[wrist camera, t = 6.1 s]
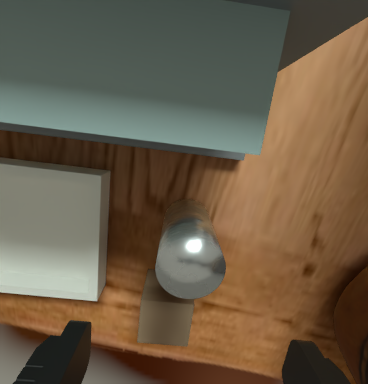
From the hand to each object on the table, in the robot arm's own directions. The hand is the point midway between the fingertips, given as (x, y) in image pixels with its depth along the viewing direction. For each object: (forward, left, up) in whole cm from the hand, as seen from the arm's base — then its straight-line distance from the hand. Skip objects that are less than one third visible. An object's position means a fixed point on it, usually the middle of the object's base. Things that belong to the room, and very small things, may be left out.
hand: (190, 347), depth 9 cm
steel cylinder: (0, 0, -13) cm, 13 cm away
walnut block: (+1, +8, -13) cm, 16 cm away
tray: (+14, +2, -13) cm, 19 cm away
